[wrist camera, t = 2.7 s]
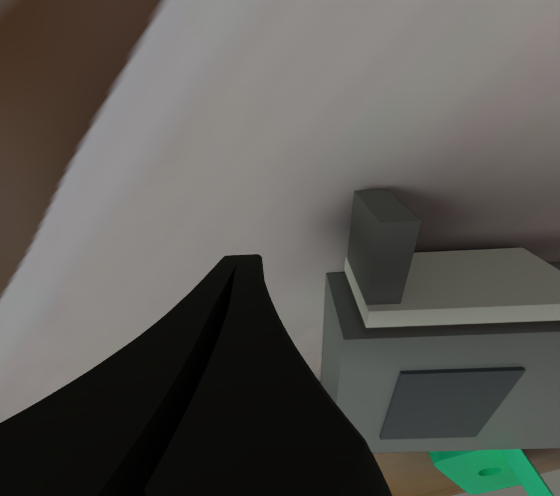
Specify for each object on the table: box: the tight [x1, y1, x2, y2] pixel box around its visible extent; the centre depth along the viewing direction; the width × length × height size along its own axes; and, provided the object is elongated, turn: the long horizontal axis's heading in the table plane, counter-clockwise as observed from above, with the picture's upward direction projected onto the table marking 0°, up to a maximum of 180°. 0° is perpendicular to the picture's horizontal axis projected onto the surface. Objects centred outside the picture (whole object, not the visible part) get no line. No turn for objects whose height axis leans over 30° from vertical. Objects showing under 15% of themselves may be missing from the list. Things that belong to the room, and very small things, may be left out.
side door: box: [344, 189, 560, 328], centre depth 12 cm, size 10×5×4 cm, turn 93°
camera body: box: [321, 263, 560, 453], centre depth 16 cm, size 22×12×6 cm, turn 93°
